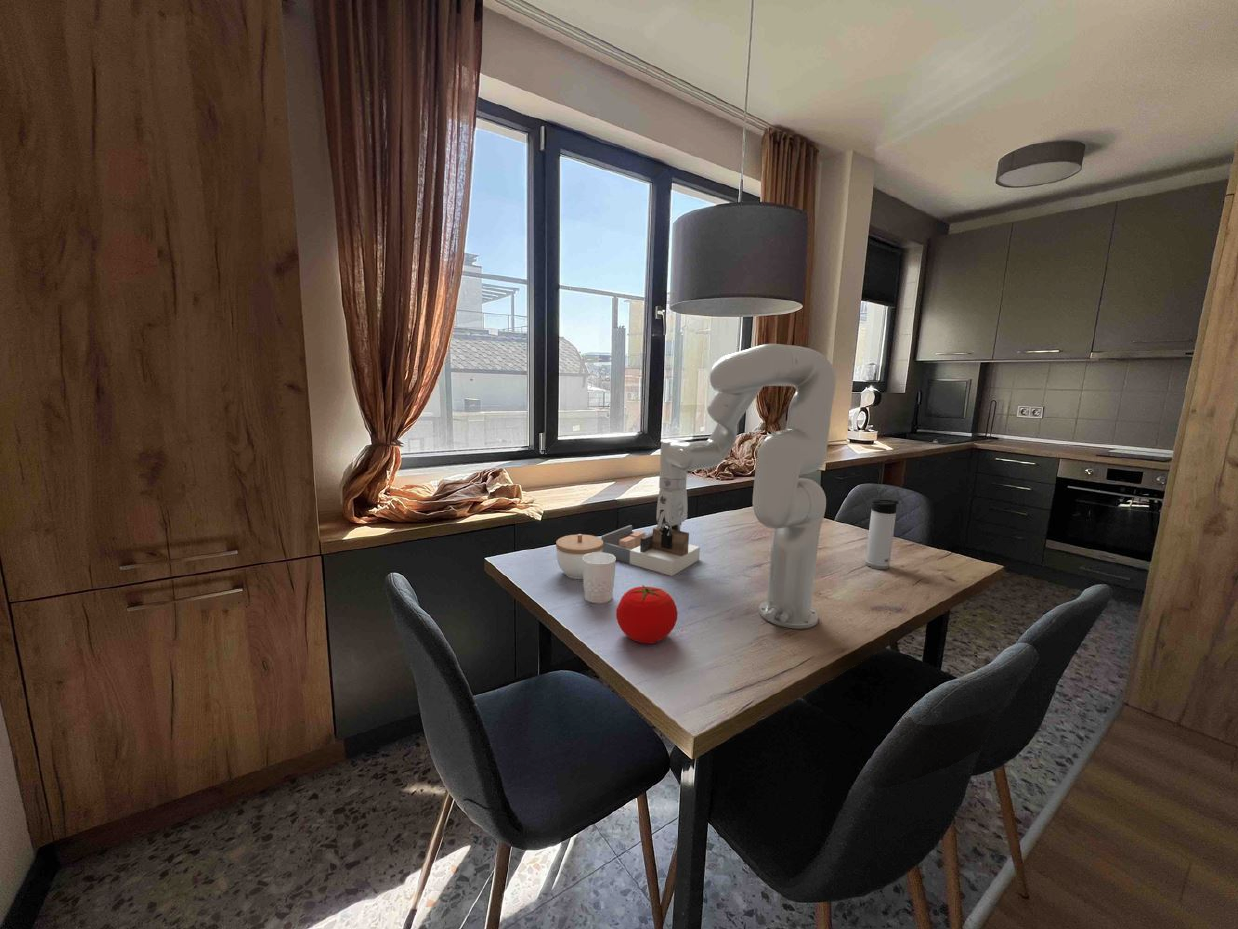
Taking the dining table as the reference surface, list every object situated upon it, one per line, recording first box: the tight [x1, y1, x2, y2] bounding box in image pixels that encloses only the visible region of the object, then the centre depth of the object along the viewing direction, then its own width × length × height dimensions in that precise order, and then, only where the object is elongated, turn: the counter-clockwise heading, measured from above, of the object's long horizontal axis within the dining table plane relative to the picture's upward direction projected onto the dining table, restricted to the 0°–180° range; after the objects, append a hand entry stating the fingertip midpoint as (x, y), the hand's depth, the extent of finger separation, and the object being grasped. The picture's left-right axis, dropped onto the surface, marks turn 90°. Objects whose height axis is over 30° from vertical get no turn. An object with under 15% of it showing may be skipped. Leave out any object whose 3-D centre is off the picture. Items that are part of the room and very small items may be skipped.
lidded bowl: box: [555, 533, 603, 580], centre depth 129 cm, size 13×13×11 cm
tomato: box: [615, 584, 678, 644], centre depth 98 cm, size 11×12×10 cm
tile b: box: [630, 530, 646, 548], centre depth 149 cm, size 5×5×2 cm
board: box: [629, 543, 701, 577], centre depth 140 cm, size 16×14×4 cm
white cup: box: [582, 552, 617, 604], centre depth 115 cm, size 8×8×10 cm
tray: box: [600, 524, 648, 565], centre depth 147 cm, size 15×10×6 cm
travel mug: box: [864, 499, 900, 570], centre depth 140 cm, size 6×7×20 cm
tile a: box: [619, 536, 636, 549], centre depth 143 cm, size 5×5×2 cm
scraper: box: [640, 526, 690, 556], centre depth 138 cm, size 12×11×6 cm
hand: (669, 545), depth 138 cm, fingers closed on scraper, 3 cm apart
